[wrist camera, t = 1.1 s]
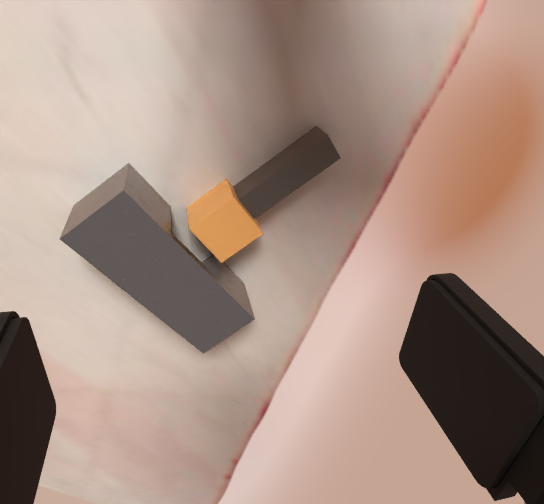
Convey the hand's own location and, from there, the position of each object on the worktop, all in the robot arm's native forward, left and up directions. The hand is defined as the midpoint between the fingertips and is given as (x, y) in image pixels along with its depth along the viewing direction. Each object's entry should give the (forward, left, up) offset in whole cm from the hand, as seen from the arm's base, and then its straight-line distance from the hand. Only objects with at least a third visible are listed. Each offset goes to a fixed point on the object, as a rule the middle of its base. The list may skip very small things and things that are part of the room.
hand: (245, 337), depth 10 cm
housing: (+13, 0, -26) cm, 29 cm away
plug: (+6, +7, -26) cm, 28 cm away
